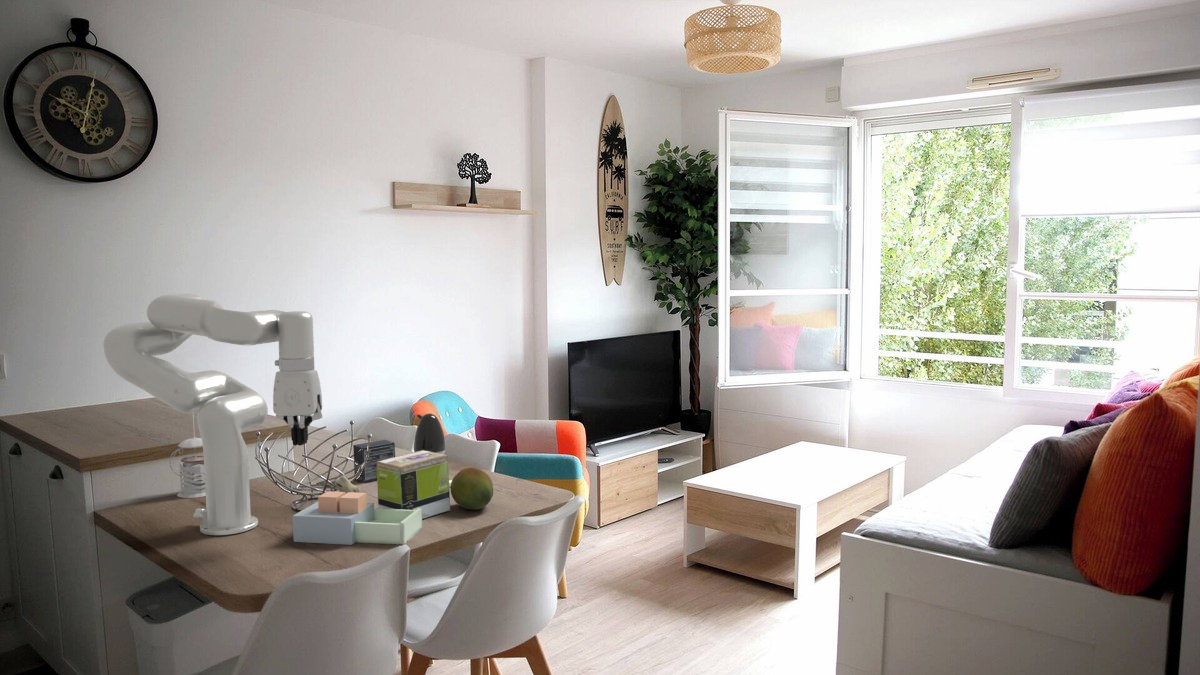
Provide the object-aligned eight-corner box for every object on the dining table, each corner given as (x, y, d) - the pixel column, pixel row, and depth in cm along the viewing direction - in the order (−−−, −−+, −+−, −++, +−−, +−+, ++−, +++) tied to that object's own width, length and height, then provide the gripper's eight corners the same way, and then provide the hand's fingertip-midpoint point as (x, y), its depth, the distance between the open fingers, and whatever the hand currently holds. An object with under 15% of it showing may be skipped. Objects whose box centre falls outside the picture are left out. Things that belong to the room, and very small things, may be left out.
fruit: (478, 498, 217) (477, 461, 216) (507, 508, 208) (507, 469, 207) (441, 507, 209) (440, 469, 208) (470, 518, 200) (469, 478, 199)
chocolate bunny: (350, 518, 200) (349, 479, 199) (323, 516, 202) (321, 476, 201) (363, 512, 205) (362, 473, 204) (336, 509, 208) (335, 471, 207)
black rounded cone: (430, 455, 267) (429, 409, 266) (452, 459, 261) (451, 412, 260) (406, 461, 259) (405, 414, 257) (429, 465, 253) (428, 417, 251)
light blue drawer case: (293, 541, 183) (292, 515, 183) (320, 524, 195) (319, 500, 195) (351, 544, 181) (351, 518, 181) (374, 527, 193) (374, 503, 192)
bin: (355, 542, 183) (354, 520, 182) (376, 526, 194) (375, 506, 193) (403, 544, 181) (403, 522, 181) (422, 528, 192) (421, 508, 191)
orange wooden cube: (318, 511, 186) (318, 496, 186) (328, 505, 190) (327, 491, 190) (336, 512, 185) (336, 497, 185) (346, 506, 190) (345, 492, 189)
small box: (386, 472, 244) (385, 438, 243) (397, 477, 240) (396, 442, 239) (353, 479, 237) (352, 443, 236) (363, 483, 232) (362, 447, 231)
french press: (205, 497, 218) (201, 406, 216) (163, 497, 219) (158, 406, 217) (223, 487, 228) (219, 400, 226) (182, 487, 229) (177, 400, 226)
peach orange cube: (339, 512, 185) (339, 497, 185) (348, 506, 189) (348, 492, 189) (358, 513, 184) (357, 498, 184) (367, 507, 189) (366, 492, 188)
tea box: (425, 504, 212) (424, 448, 211) (451, 511, 206) (449, 454, 204) (377, 518, 200) (375, 459, 199) (402, 526, 194) (400, 465, 193)
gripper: (257, 366, 183) (260, 446, 185) (319, 368, 181) (322, 448, 183) (275, 363, 191) (278, 439, 192) (335, 363, 188) (338, 441, 190)
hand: (300, 443), depth 188 cm, fingers closed
